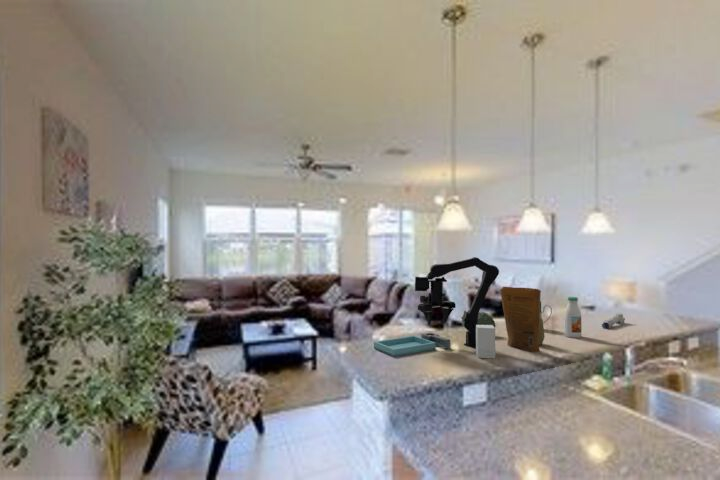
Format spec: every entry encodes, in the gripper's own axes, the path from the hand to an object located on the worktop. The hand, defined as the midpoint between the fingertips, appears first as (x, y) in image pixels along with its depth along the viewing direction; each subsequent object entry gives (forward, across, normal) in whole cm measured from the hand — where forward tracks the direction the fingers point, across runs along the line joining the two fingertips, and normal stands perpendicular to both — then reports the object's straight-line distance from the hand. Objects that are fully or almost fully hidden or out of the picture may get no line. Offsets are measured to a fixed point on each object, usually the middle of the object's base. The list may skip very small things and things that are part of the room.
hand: (437, 324), depth 198 cm
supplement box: (+10, -6, +24) cm, 27 cm away
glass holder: (+10, -70, +2) cm, 71 cm away
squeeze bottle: (+10, -41, +22) cm, 48 cm away
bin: (+10, +17, -2) cm, 20 cm away
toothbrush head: (+11, -114, +18) cm, 116 cm away
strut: (+10, 0, 0) cm, 10 cm away
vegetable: (+10, -35, -6) cm, 37 cm away
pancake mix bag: (+10, -29, +24) cm, 39 cm away
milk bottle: (+10, -70, +22) cm, 74 cm away
